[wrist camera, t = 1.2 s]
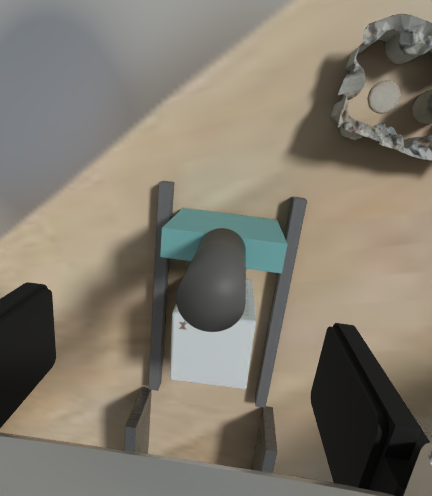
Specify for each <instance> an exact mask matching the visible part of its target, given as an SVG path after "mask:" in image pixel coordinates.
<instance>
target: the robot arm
mask: <svg viewBox="0 0 432 496" xmlns="http://www.w3.org/2000/svg"><path fill="white" fill-rule="evenodd" d="M55 359H56V348H55V332H54V316H53V301H52V292H51V290H49V289H48V288H47V286H46V285H44V284H36V283H28V282H27V283H25V284H23V285H21V286H20V287H18V288H17V289H15V290H14V291H12V292H10V293H9V294H7V295H6V296H4V297H3V298H1V299H0V428H1V427H2V426H3V424H4V423H5V422H6V421H7V420H8V419H9V417H10V416H11V415H12V414H13V413H14V412H15V410H16V409H17V408H18V407H19V406H20V404H21V403H22V402H23V401H24V400H25V399H26V397H27V396H28V395H29V394H30V393H31V392H32V390H33V389H34V388H35V387H36V386H37V384H38V383H39V382H40V381H41V380H42V379H43V377H44V376H45V375H46V374H47V373H48V372H49V370H50V369H51V368H52V367H53V365H54V363H55ZM311 404H312V408H313V411H314V415H315V418H316V422H317V425H318V429H319V432H320V436H321V439H322V443H323V446H324V450H325V454H326V457H327V461H328V464H329V468H330V471H331V475H332V478H333V482H334V483H331V482H325V481H318V480H312V479H306V478H300V477H294V476H289V475H282V474H276V473H269V472H263V471H256V470H250V469H243V468H237V467H230V466H224V465H218V464H211V463H205V462H198V461H192V460H185V459H178V458H172V457H165V456H158V455H152V454H145V453H138V452H131V451H125V450H118V449H111V448H104V447H97V446H91V445H84V444H77V443H70V442H63V441H56V440H49V439H42V438H35V437H28V436H21V435H14V434H7V433H0V496H432V442H431V443H430V441H429V440H428V438H427V437H426V435H425V434H424V432H423V431H422V429H421V427H420V426H419V424H418V423H417V421H416V420H415V418H414V417H413V415H412V413H411V412H410V410H409V409H408V407H407V406H406V404H405V403H404V401H403V400H402V398H401V397H400V395H399V393H398V392H397V390H396V389H395V387H394V386H393V384H392V383H391V381H390V380H389V378H388V377H387V375H386V373H385V372H384V370H383V369H382V367H381V366H380V364H379V363H378V361H377V360H376V358H375V357H374V355H373V353H372V352H371V350H370V349H369V347H368V346H367V344H366V343H365V341H364V340H363V338H362V337H361V335H360V333H359V332H358V330H357V329H356V327H355V326H354V325H347V324H340V323H335V324H334V325H333V327H328V329H327V331H326V335H325V339H324V343H323V347H322V351H321V355H320V359H319V363H318V367H317V371H316V375H315V379H314V382H313V386H312V390H311Z"/></svg>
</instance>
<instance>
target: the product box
mask: <svg viewBox="0 0 432 496" xmlns="http://www.w3.org/2000/svg"><path fill="white" fill-rule="evenodd" d="M255 325H256V318H255V305H254V292H253V284H252V280H246V304H245V310H244V313H243V315H242V317H241V318H240V320H239V321H238V322H237V323H236V324H235V325H233V326H232V327H230V328H229V329H226V330H223V331H219V332H206V331H202V330H199V329H196V328H194V327H193V326H191V325H190V324H188V323H187V322H186V321H185V320H184V319H183V317H182V316H181V315H180V313H179V311H178V308H177V304H176V306H175V308H174V310H173V313H172V334H171V366H170V379H171V380H177V381H185V382H193V383H201V384H209V385H216V386H224V387H231V388H238V389H246V387H247V380H248V374H249V367H250V360H251V353H252V346H253V339H254V332H255Z"/></svg>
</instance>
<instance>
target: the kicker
mask: <svg viewBox="0 0 432 496" xmlns="http://www.w3.org/2000/svg"><path fill="white" fill-rule="evenodd" d="M286 249H287V242H286V240H285V237H284V235H283V233H282V230H281V228H280V226H279V223H278V221H277V220H275V219H267V218H259V217H251V216H243V215H235V214H227V213H219V212H211V211H203V210H195V209H188V208H182V209H181V210H180V211H179V212H178V213H177V214H176V215H175V216H174V217H173V218H172V219H171V220H170V221H169V222H168V223H166V224H165V225H164V226H163V227H162V236H161V254H160V257H164V258H171V259H179V260H186V261H191V263H190V265H189V267H188V269H187V271H186V273H185V275H184V277H183V279H182V281H181V283H180V285H179V287H178V290H177V294H176V304H177V308H178V311H179V313H180V315H181V316H182V317H183V319H184V320H185V321H186V322H187V323H188V324H190V325H191V326H193V327H194V328H196V329H199V330H202V331H206V332H219V331H223V330H226V329H229V328H230V327H232V326H233V325H235V324H236V323H237V322H238V321H239V320H240V318H241V317H242V315H243V313H244V310H245V304H246V269H253V270H260V271H267V272H275V273H282V270H283V265H284V260H285V255H286Z"/></svg>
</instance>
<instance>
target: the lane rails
mask: <svg viewBox="0 0 432 496" xmlns="http://www.w3.org/2000/svg"><path fill="white" fill-rule="evenodd" d="M173 195H174V182H168V181H161V182H159V193H158V213H157V232H156V252H155V272H154V291H153V311H152V331H151V350H150V370H149V389H151V390H157V391H158V390H159V387H160V384H161V377H162V361H163V346H164V331H165V316H166V301H167V286H168V270H169V258H164V257H160V254H161V236H162V227H163V226H164V225H165V224H166V223H168V222H169V221H170V220H171V219H172V210H173ZM306 204H307V200H306V199H305V198H299V197H292V202H291V207H290V212H289V218H288V223H287V228H286V234H285V240H286V242H287V249H286V255H285V260H284V265H283V270H282V273H278V277H277V282H276V288H275V293H274V298H273V304H272V309H271V315H270V320H269V325H268V331H267V336H266V341H265V347H264V352H263V358H262V363H261V368H260V374H259V379H258V384H257V390H256V395H255V406H258V407H264V408H265V407H266V402H267V397H268V392H269V387H270V382H271V377H272V373H273V368H274V363H275V358H276V353H277V348H278V343H279V338H280V333H281V328H282V323H283V318H284V313H285V308H286V303H287V298H288V293H289V288H290V283H291V278H292V273H293V268H294V263H295V258H296V253H297V249H298V244H299V239H300V234H301V229H302V224H303V219H304V214H305V209H306Z"/></svg>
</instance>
